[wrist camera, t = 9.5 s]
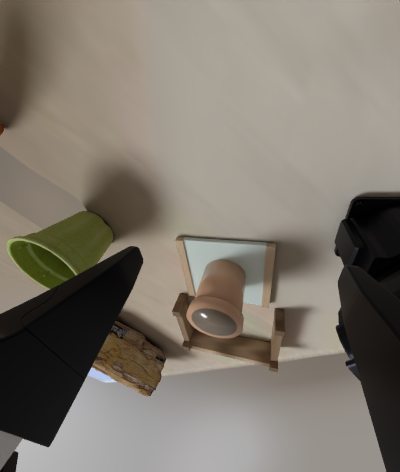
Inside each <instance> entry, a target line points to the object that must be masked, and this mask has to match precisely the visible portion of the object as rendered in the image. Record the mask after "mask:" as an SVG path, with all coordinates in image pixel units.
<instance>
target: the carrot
mask: <svg viewBox="0 0 400 472" xmlns="http://www.w3.org/2000/svg"><path fill="white" fill-rule="evenodd" d="M3 131H4V126H3V125H1V124H0V135H1V134H2V133H3Z"/></svg>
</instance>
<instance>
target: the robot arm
mask: <svg viewBox="0 0 400 472" xmlns="http://www.w3.org/2000/svg"><path fill="white" fill-rule="evenodd" d="M357 202H361V203H360V204H359V205H355V204H356V203H357ZM335 244H336V247H335V251H334V252H335V254H336V255H337V256H339V257H341V259H342V262H343V264H344V267H343V270H342V272H341V275H340V277H339V280H338V289H339V295H340V302H341V308H340V310H339V312H338V316H339V325H337V326H336V331H337V334H338V337H339V339H340V342H341V344H342V346H343V348H344V350H345V352H346V353H347V355H348V357H349V358H350V360H348V361H346V366H347V367H348V368H349V369H350V370H351V371H352V372H353V374H354V375H355V376H356V377H357V378H358V379H359V380H360V381H361V385H362V388H363V392H364V395H365V398H366V402H367V406H368V409H369V413H370V416H371V420H372V423H373V426H374V430H375V433H376V437H377V440H378V444H379V447H380V451H381V454H382V457H383V461H384V465H385V468H386V472H400V197H356V198H354V199H353V200H352V201H351V203H350V206H349V209H348V212H347V215H346V218H345V219H343V220H342V221H341V223H340V226H339V229H338V232H337V236H336V239H335ZM142 264H143V257H142V255H141V252H140V250H139V248H138V247H135V246H130V247H128V248H126V249H124V250H122V251H120V252H118V253H117V254H115V255H113V256H111V257H109V258H107V259H105V260H104V261H102V262H100V263H98V264H96V265H94V266H93V267H91V268H89V269H87V270H85V271H83V272H81V273H80V274H78V275H76V276H74V277H72V278H70V279H68V280H67V281H65V282H63V283H61V284H60V285H57V286H55V287H54V288H52V289H50V290H48V291H46V292H44V293H42V294H40V295H39V296H37V297H35V298H33V299H30V300H28V301H26V302H24V303H23V304H20V305H18V306H16V307H14V308H12V309H10V310H8V311H6V312H4V313H1V314H0V472H16V465H17V459H18V452H16V451H14V450H15V449H16V447H17V446H18V445H19V443H20V442H21V440H22V439H26V440H29V441H32V442H34V443H37V444H40V445H43V446H46V447H49V446H50V445H51V443H52V441H53V440H54V438H55V436H56V434H57V432H58V430H59V428H60V426H61V424H62V423H63V421H64V419H65V417H66V415H67V413H68V411H69V409H70V407H71V405H72V403H73V401H74V400H75V398H76V396H77V394H78V392H79V390H80V388H81V386H82V384H83V382H84V381H85V378H86V377H87V375H88V373H89V371H90V369H91V367H92V365H93V363H94V361H95V359H96V358H97V356H98V354H99V352H100V350H101V348H102V346H103V344H104V342H105V340H106V338H107V337H108V335H109V333H110V331H111V329H112V327H113V325H114V323H115V321H116V319H117V317H118V316H119V314H120V312H121V310H122V308H123V306H124V304H125V302H126V300H127V298H128V297H129V295H130V293H131V291H132V289H133V286H134V284H135V281H136V279H137V276H138V274H139V272H140V269H141V267H142Z"/></svg>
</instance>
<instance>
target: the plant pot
mask: <svg viewBox="0 0 400 472" xmlns="http://www.w3.org/2000/svg"><path fill="white" fill-rule="evenodd" d="M112 241H113V233H112V230H111V228H110V227H109V226H107V225H106V224H105V223H104V221H103V219H102V218H101V217H99V216H98V215H96V214H94V213H91V212H87V211H82V212H79V213H77V214H75V215H73V216H71V217H69V218H67V219H65V220H63V221H60V222H58V223H56V224H54V225H52V226H50V227H48V228H46V229H44V230H41V231H39V232H37V233H32V234H29V235H26V236H24V237H21V236H19V237H14V238H12V239H10V240H9V241H8V242H7V251H8V254H9V256H10V257H11V259H12V260H13V261H14V263H15V264H16V265H17V266H18V267H19V268H20V269H21V270H22V271H23V272H24V273H25V274H26V275H27V276H28V277H30V278H31V279H32V280H34V281H35V282H37V283H38V284H40V285H42V286H43V287H45V288H47V289H49V290H50V289H52V288H54V287H55V286H57V285H60V284H61V283H63V282H65V281H67V280H68V279H70V278H72V277H74V276H76V275H78V274H80V273H81V272H83V271H85V270H87V269H89V268H91V267H93V266H94V265H96V264H97V263H98V261H99V260H100V259H101V257H102V256H103V254H104V253H105V251H106V250H107V249H108V247H109V246H110V244H111V243H112Z"/></svg>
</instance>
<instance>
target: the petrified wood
mask: <svg viewBox="0 0 400 472" xmlns="http://www.w3.org/2000/svg"><path fill="white" fill-rule="evenodd" d="M165 361H166V358H165V357H164V354H163V353H162V352H161V350H159V349H158V348H157V347H155V346H153V345H152V344H150V343H149V342H148V341H146V340H145V336H144V335H143V334H141V333H139V332H137V331H135V330H134V329H132V328H129V327H127V326H125V325H123V324H121V323H120V322H117V321H115V323H114V325H113V327H112V329H111V331H110V333H109V335H108V337H107V338H106V340H105V342H104V344H103V346H102V348H101V350H100V352H99V354H98V356H97V358H96V359H95V361H94V363H93V365H92V368H95V369H96V370H97V371H100V372H102V373H104V374H105V375H108V376H110V377H111V378H112V379H114V380H116V381H117V382H120V383H122V384H124V385H126V386H128V387H131V388H133V389H135V390H137V391H138V393H140V394H143V395H145V396H151V394H152V392H153V391H154V390H156V387H157V385H158V382H160V380H161V370H162V369H163V367H164V363H165Z"/></svg>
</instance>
